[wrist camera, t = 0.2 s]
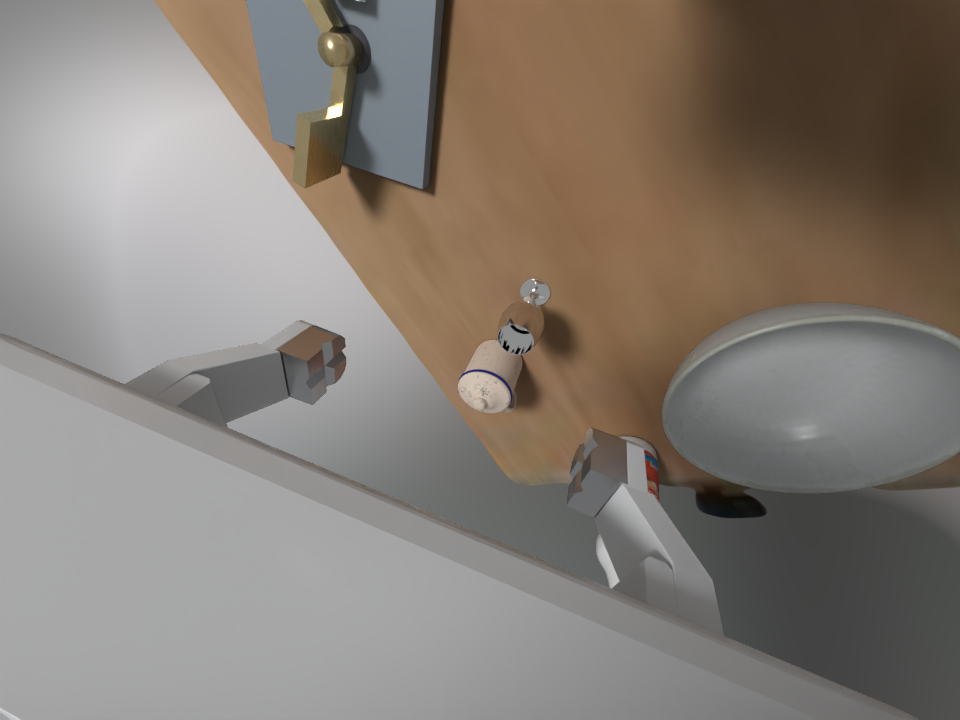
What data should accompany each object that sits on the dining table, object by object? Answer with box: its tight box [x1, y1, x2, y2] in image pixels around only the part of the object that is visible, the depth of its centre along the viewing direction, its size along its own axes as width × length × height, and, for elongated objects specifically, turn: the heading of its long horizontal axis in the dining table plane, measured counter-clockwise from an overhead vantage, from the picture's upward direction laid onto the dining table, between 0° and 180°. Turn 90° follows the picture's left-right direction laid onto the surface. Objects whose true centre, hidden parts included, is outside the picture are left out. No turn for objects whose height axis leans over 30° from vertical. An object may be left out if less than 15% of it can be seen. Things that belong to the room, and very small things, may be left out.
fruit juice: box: [596, 436, 659, 589], centre depth 58 cm, size 9×9×28 cm
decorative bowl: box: [662, 302, 960, 493], centre depth 43 cm, size 27×27×12 cm
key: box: [293, 0, 364, 188], centre depth 38 cm, size 19×6×7 cm, turn 169°
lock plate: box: [246, 0, 444, 189], centre depth 41 cm, size 20×22×2 cm
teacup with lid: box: [458, 340, 523, 413], centre depth 60 cm, size 12×9×12 cm
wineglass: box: [497, 278, 550, 355], centre depth 48 cm, size 6×6×12 cm
